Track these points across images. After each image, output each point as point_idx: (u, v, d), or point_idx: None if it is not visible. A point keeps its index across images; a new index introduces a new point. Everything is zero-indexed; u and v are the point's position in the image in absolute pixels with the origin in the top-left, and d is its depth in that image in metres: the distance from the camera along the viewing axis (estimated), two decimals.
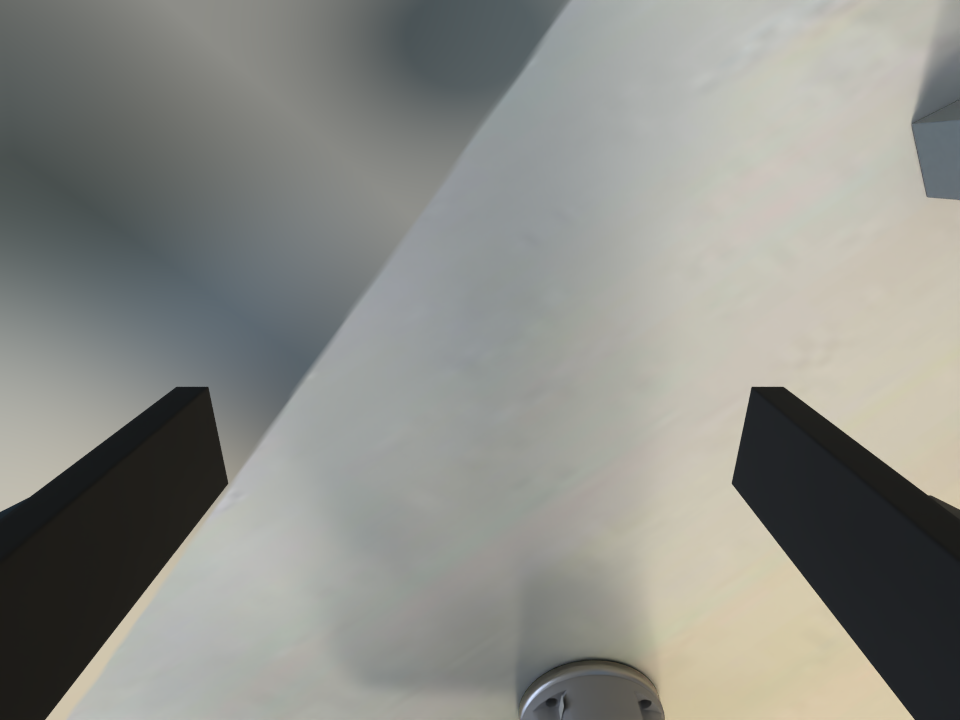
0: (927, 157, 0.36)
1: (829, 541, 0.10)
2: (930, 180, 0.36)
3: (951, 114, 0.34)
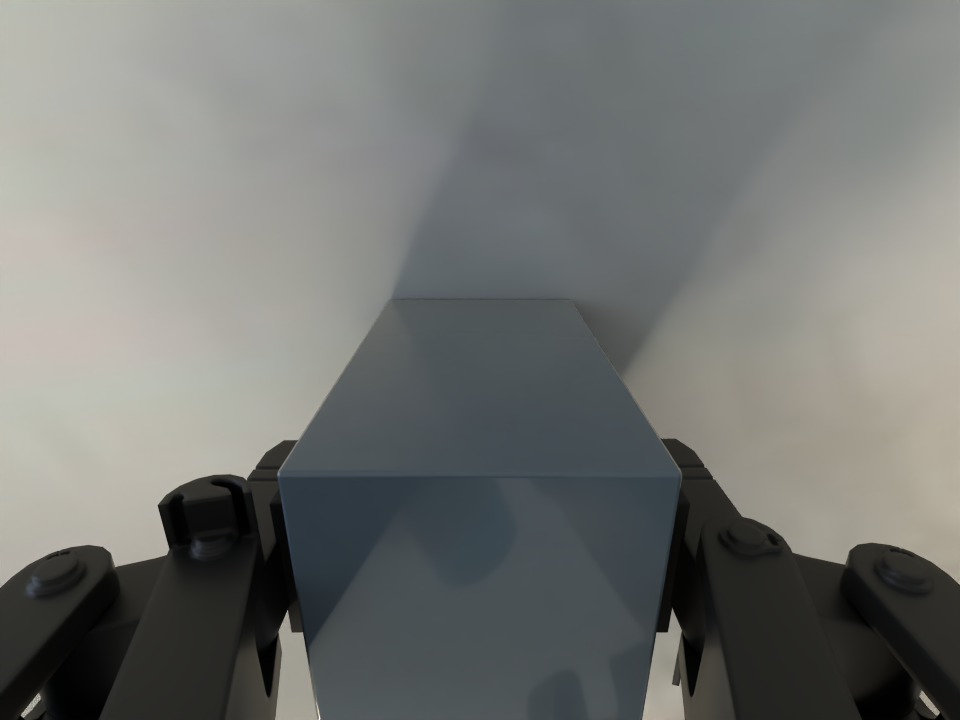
0: None
1: None
2: None
3: (412, 321, 0.12)
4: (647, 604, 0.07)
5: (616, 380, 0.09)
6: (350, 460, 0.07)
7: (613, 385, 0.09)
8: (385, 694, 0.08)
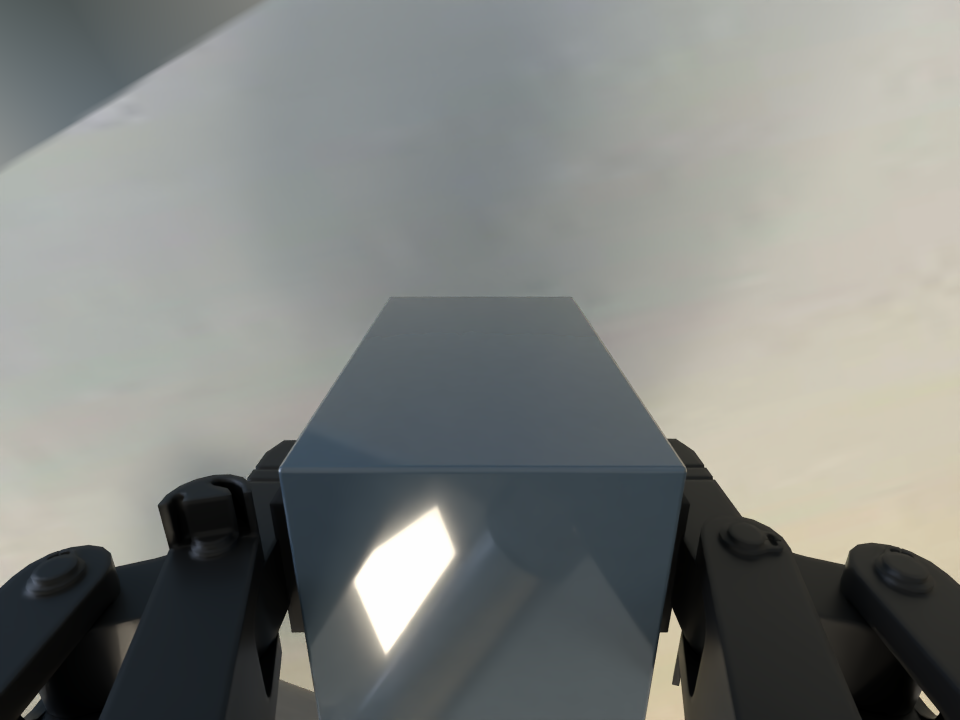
0: None
1: None
2: None
3: (413, 318, 0.12)
4: (651, 601, 0.07)
5: (619, 376, 0.09)
6: (351, 456, 0.07)
7: (616, 381, 0.09)
8: (386, 693, 0.08)
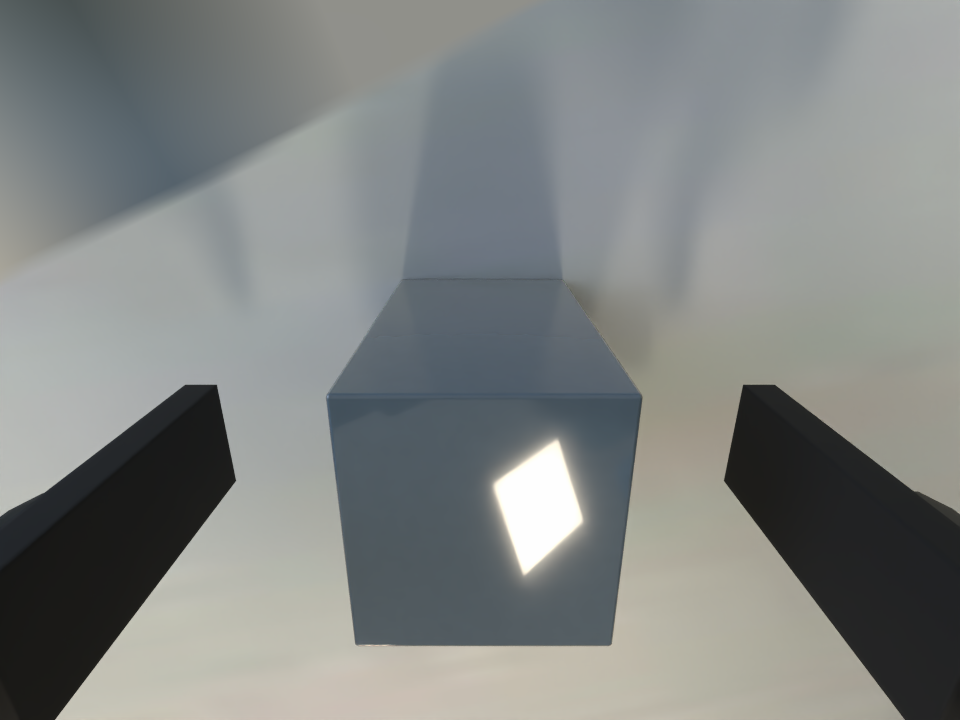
0: None
1: (817, 537, 0.10)
2: None
3: (423, 295, 0.14)
4: (617, 506, 0.09)
5: (597, 337, 0.11)
6: (382, 387, 0.09)
7: (594, 340, 0.11)
8: (407, 586, 0.10)
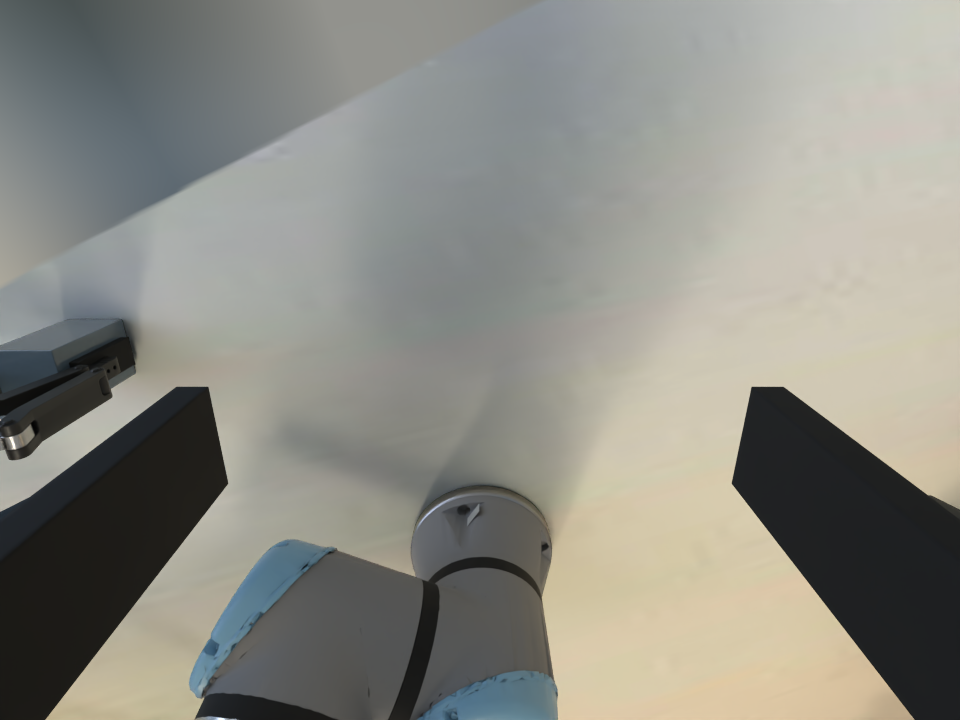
0: None
1: (829, 541, 0.10)
2: None
3: (60, 325, 0.46)
4: None
5: (76, 338, 0.43)
6: (0, 349, 0.41)
7: (73, 339, 0.43)
8: None
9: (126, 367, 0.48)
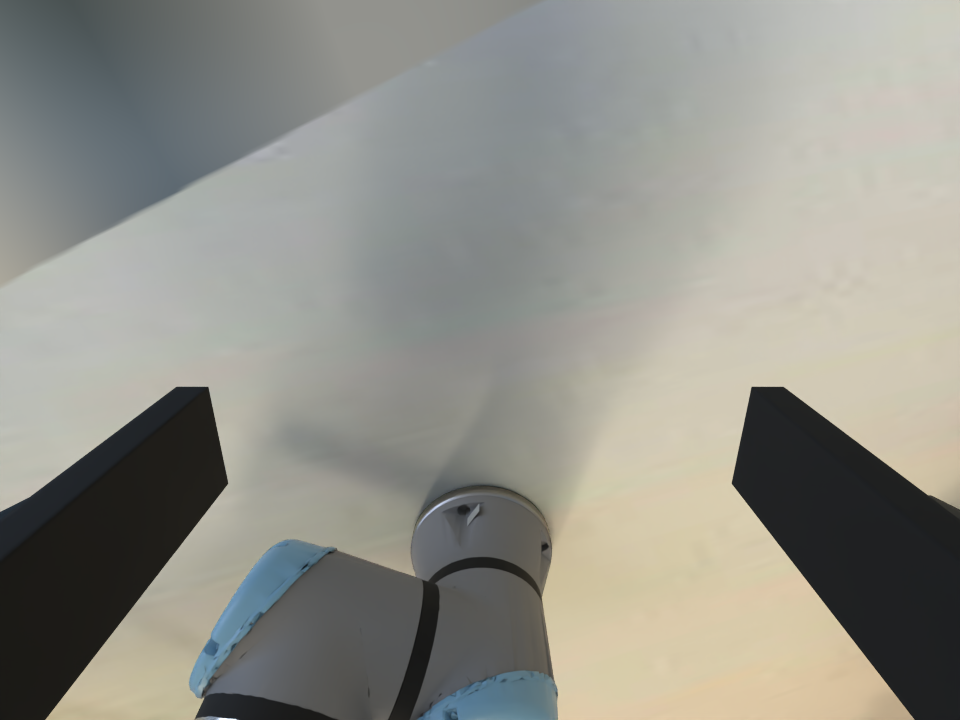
0: None
1: (829, 541, 0.10)
2: None
3: None
4: None
5: None
6: None
7: None
8: None
9: None
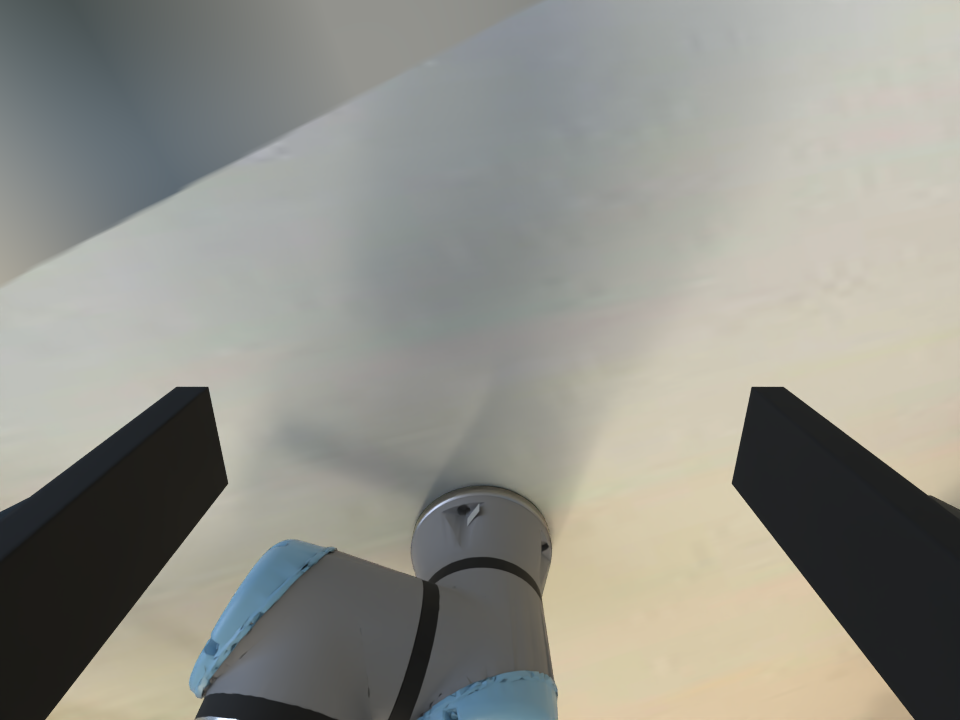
0: None
1: (829, 541, 0.10)
2: None
3: None
4: None
5: None
6: None
7: None
8: None
9: None
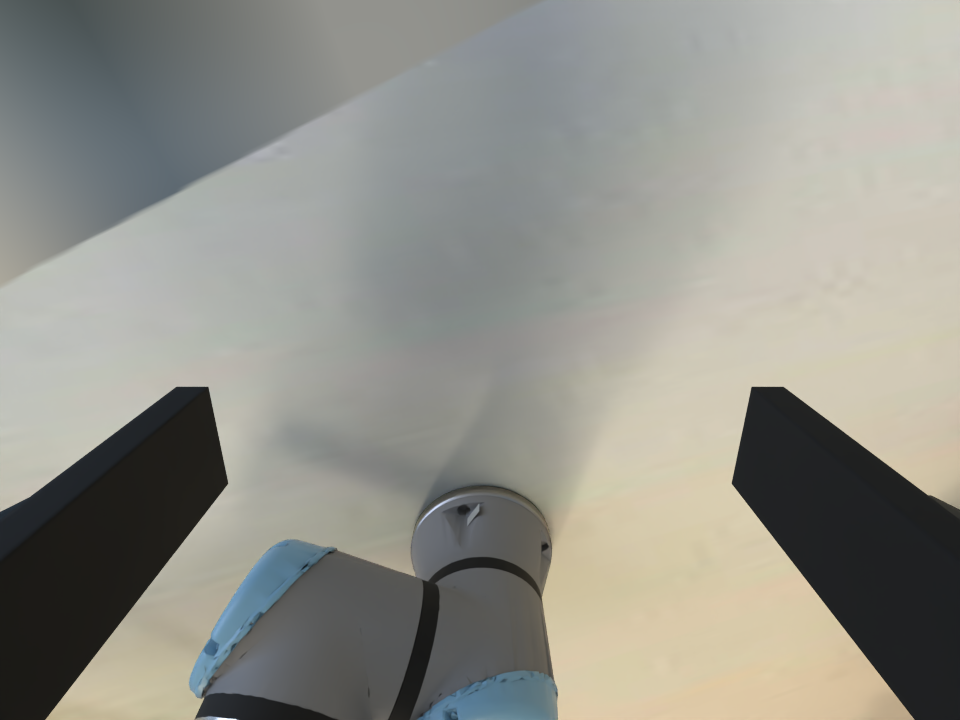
0: None
1: (829, 541, 0.10)
2: None
3: None
4: None
5: None
6: None
7: None
8: None
9: None
